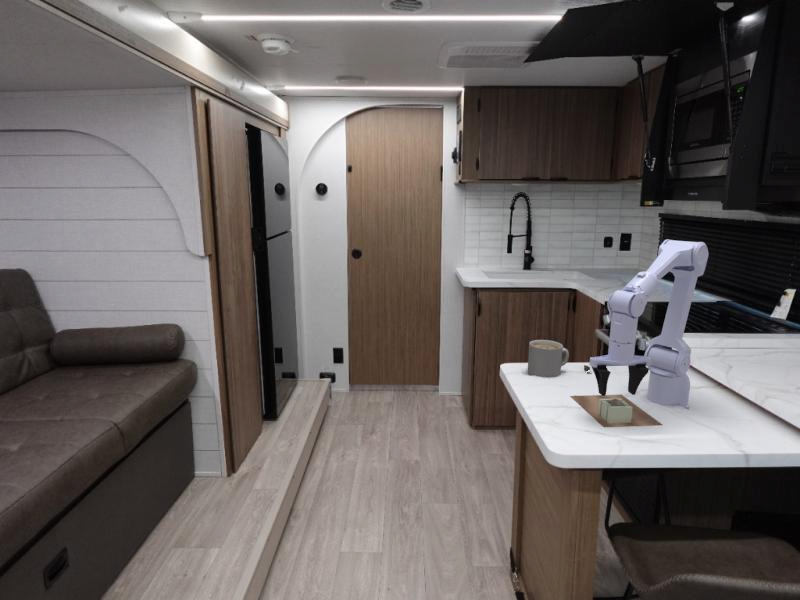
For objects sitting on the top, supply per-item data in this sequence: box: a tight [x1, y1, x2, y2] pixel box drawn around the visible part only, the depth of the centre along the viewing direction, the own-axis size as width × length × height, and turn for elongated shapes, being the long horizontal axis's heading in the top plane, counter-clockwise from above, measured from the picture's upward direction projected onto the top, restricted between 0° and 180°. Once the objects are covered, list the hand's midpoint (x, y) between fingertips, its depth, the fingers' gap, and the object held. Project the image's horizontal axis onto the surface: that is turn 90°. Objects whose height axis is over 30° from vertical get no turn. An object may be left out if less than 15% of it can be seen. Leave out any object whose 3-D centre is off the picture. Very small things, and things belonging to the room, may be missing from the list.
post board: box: [569, 394, 663, 428], centre depth 129 cm, size 15×19×6 cm
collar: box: [598, 398, 633, 423], centre depth 124 cm, size 6×6×4 cm
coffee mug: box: [526, 339, 570, 379], centre depth 156 cm, size 13×10×10 cm
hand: (616, 393), depth 123 cm, fingers open, 7 cm apart
